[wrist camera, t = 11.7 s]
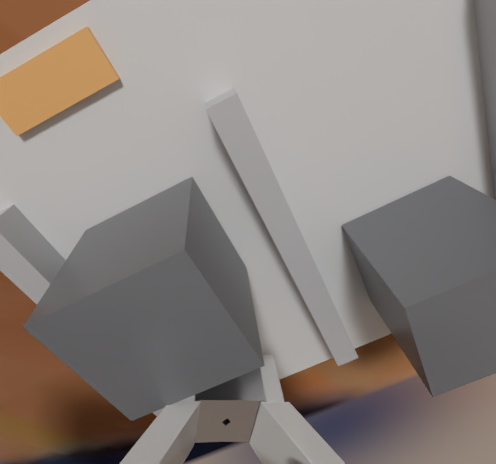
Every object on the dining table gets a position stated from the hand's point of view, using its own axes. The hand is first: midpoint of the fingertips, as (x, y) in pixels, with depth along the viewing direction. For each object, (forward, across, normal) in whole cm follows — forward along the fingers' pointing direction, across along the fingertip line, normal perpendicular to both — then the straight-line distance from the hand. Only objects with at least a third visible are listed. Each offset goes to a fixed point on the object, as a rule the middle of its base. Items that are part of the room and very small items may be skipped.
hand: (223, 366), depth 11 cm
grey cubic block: (+2, -6, -4) cm, 7 cm away
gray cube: (+2, +2, -3) cm, 4 cm away
